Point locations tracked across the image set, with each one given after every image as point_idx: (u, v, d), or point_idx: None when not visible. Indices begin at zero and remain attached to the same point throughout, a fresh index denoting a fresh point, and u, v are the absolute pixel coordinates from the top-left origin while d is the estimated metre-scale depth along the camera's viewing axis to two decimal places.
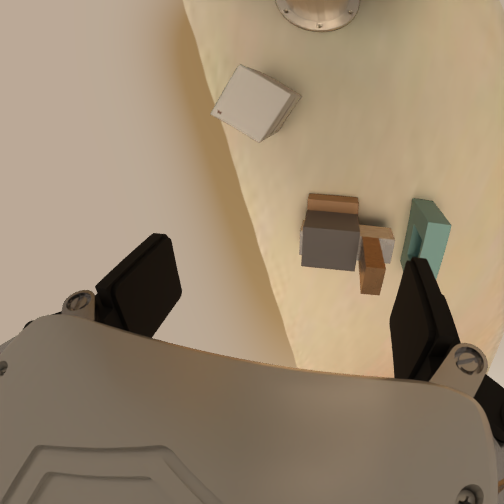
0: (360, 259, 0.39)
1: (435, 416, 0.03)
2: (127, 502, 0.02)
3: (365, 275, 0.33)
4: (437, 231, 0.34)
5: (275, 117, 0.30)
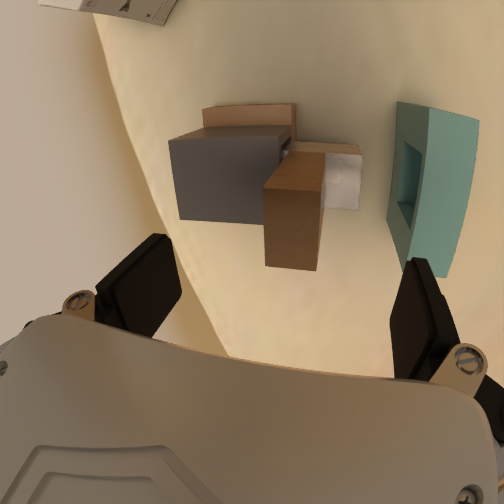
0: None
1: (435, 416, 0.03)
2: (127, 502, 0.02)
3: (266, 214, 0.13)
4: (452, 131, 0.13)
5: None
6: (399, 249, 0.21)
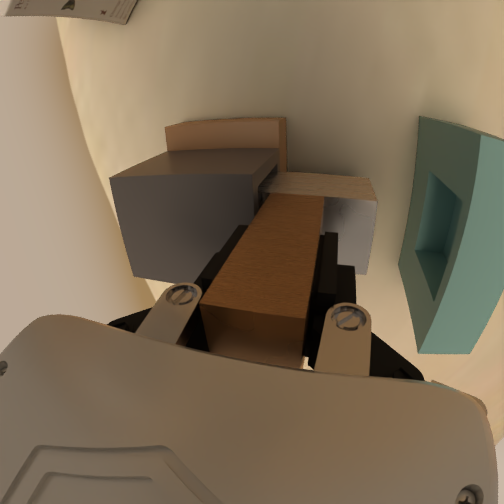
0: None
1: (435, 416, 0.03)
2: (127, 502, 0.02)
3: (211, 338, 0.07)
4: None
5: None
6: (415, 316, 0.16)
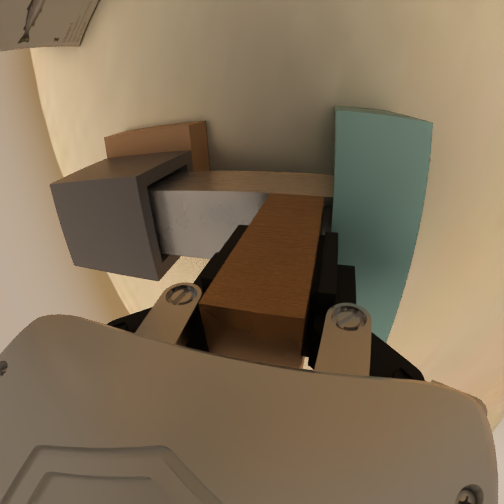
0: None
1: (435, 416, 0.03)
2: (127, 502, 0.02)
3: (210, 338, 0.07)
4: (381, 145, 0.09)
5: None
6: None
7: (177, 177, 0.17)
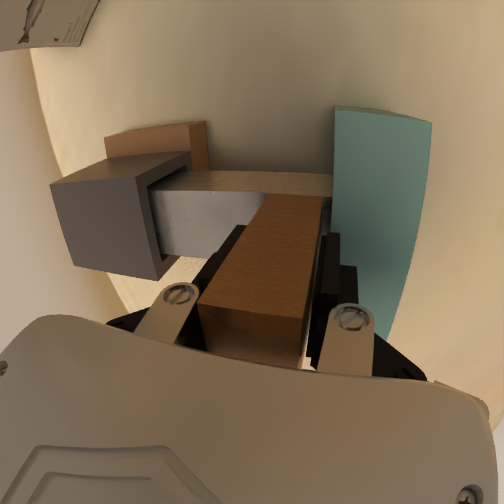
0: None
1: (435, 416, 0.03)
2: (127, 502, 0.02)
3: (209, 338, 0.07)
4: (380, 145, 0.09)
5: None
6: None
7: (176, 177, 0.17)
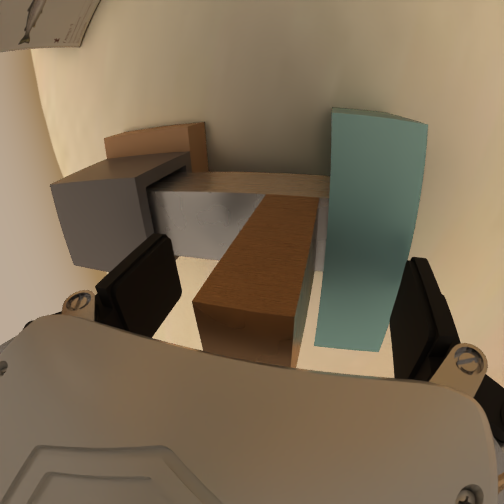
0: None
1: (435, 416, 0.03)
2: (127, 502, 0.02)
3: (204, 336, 0.08)
4: (377, 147, 0.10)
5: None
6: None
7: (175, 178, 0.17)
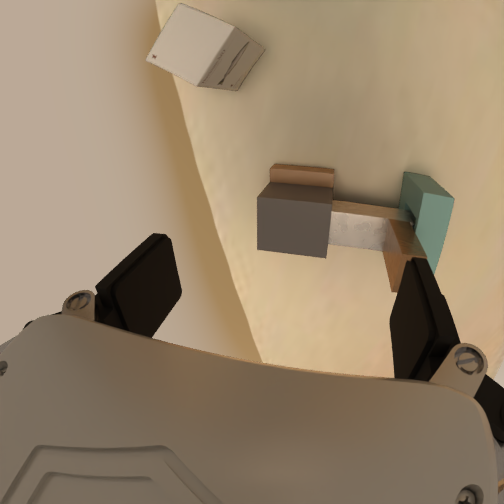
0: (387, 248, 0.29)
1: (435, 416, 0.03)
2: (127, 502, 0.02)
3: (400, 266, 0.23)
4: (436, 206, 0.25)
5: (216, 54, 0.22)
6: None
7: (333, 204, 0.33)
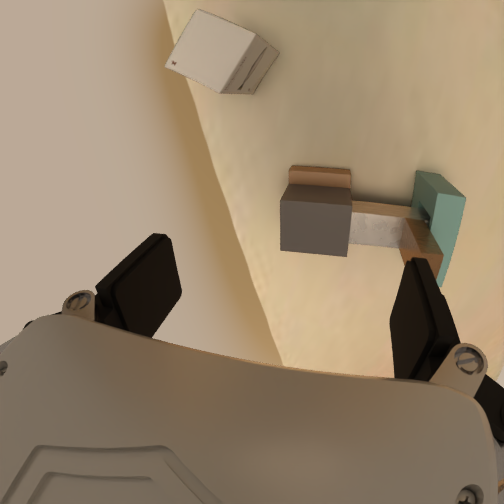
0: (404, 246, 0.29)
1: (435, 416, 0.03)
2: (127, 502, 0.02)
3: None
4: (449, 205, 0.26)
5: (238, 61, 0.22)
6: None
7: None
